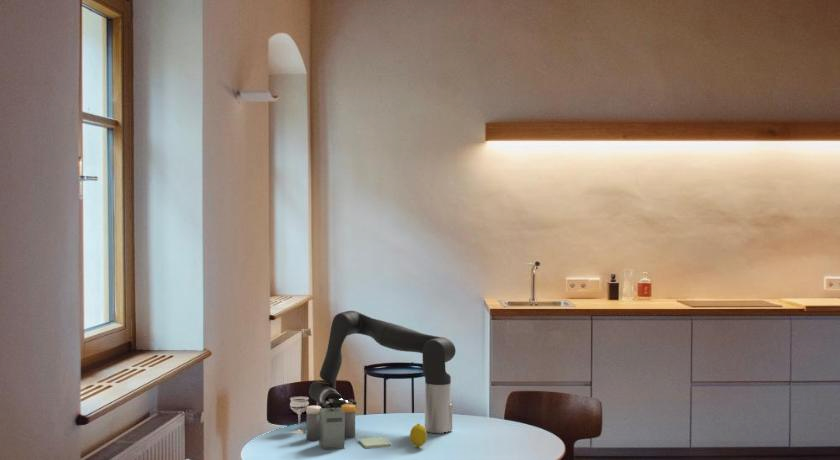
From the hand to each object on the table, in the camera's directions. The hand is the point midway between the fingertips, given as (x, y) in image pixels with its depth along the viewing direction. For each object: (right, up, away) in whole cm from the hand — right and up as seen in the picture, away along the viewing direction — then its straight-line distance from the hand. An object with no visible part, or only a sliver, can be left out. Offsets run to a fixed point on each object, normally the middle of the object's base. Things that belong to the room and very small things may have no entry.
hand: (340, 409), depth 283 cm
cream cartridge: (-8, -7, -14) cm, 17 cm away
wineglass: (-14, -7, -4) cm, 17 cm away
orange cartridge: (+4, -7, -11) cm, 13 cm away
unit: (-1, -7, -23) cm, 24 cm away
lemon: (+28, -8, -24) cm, 37 cm away
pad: (+13, -7, -19) cm, 24 cm away
